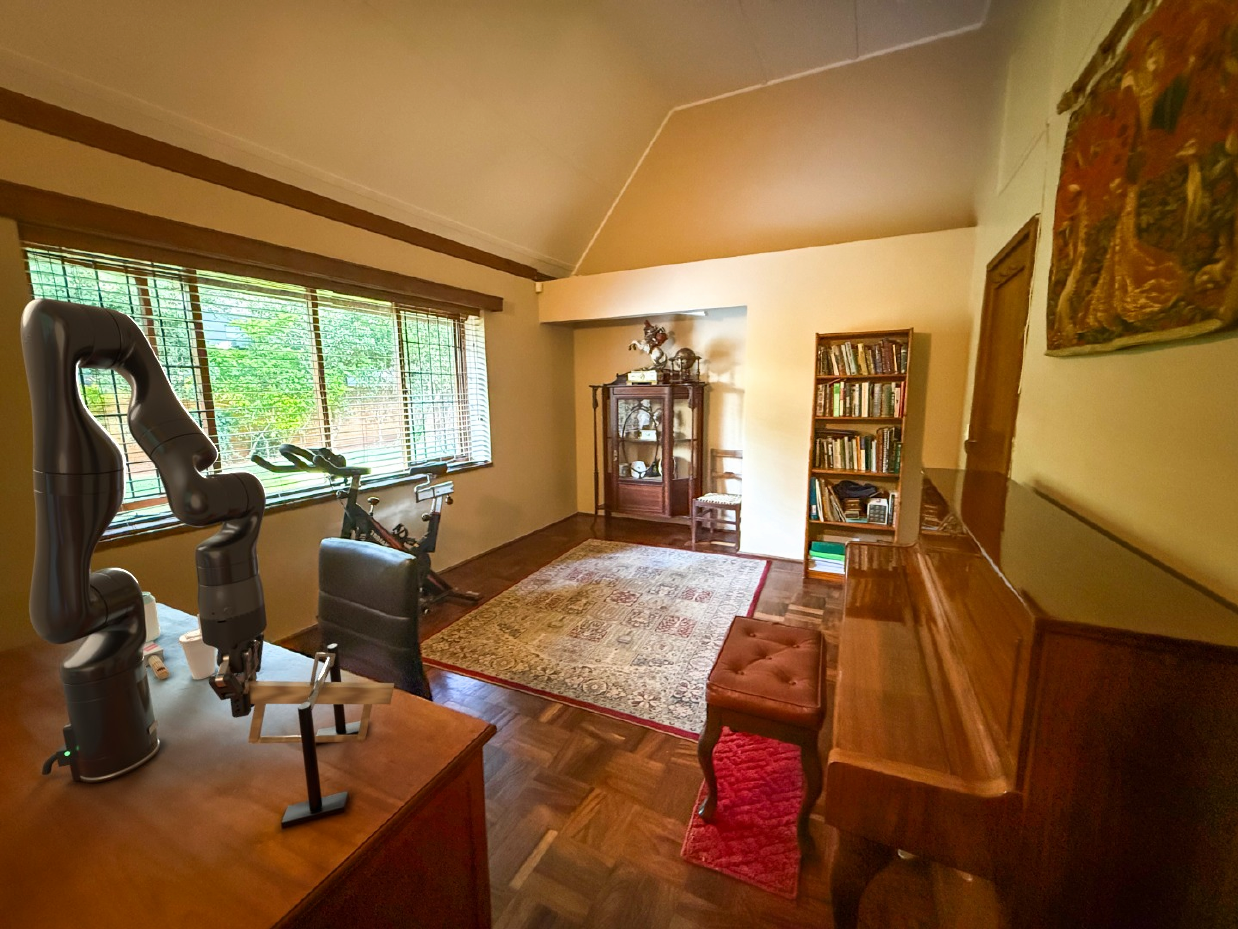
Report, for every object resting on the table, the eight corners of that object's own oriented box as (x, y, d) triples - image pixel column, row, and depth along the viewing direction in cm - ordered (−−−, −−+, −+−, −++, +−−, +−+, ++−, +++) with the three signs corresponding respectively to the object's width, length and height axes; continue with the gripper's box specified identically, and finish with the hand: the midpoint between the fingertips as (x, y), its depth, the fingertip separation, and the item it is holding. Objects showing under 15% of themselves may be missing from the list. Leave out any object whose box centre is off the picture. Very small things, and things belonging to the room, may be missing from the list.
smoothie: (227, 671, 105) (219, 613, 103) (190, 686, 100) (181, 625, 98) (216, 663, 109) (208, 606, 106) (180, 677, 103) (170, 617, 101)
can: (152, 631, 123) (145, 588, 121) (166, 637, 120) (159, 593, 118) (115, 645, 117) (107, 599, 115) (130, 651, 114) (121, 604, 112)
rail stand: (281, 829, 67) (267, 718, 65) (318, 734, 86) (308, 645, 83) (344, 812, 70) (333, 705, 67) (367, 724, 88) (359, 638, 86)
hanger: (225, 746, 72) (241, 652, 70) (229, 740, 73) (245, 648, 72) (382, 743, 79) (399, 658, 78) (383, 737, 81) (400, 653, 80)
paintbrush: (154, 634, 115) (174, 666, 104) (155, 645, 116) (175, 677, 104) (132, 641, 112) (150, 674, 101) (133, 651, 113) (151, 685, 101)
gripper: (223, 590, 75) (234, 689, 78) (175, 631, 62) (191, 748, 65) (278, 584, 77) (288, 681, 80) (244, 623, 65) (256, 736, 67)
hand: (244, 710), depth 72 cm, fingers closed
